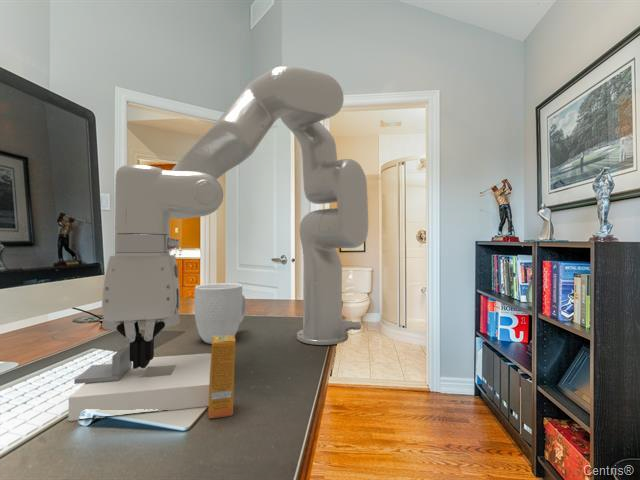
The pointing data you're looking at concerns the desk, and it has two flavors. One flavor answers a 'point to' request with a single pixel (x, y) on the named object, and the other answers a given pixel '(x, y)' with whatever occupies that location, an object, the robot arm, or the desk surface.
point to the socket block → (149, 387)
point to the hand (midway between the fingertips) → (141, 364)
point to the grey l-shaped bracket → (108, 369)
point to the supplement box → (222, 376)
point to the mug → (218, 309)
